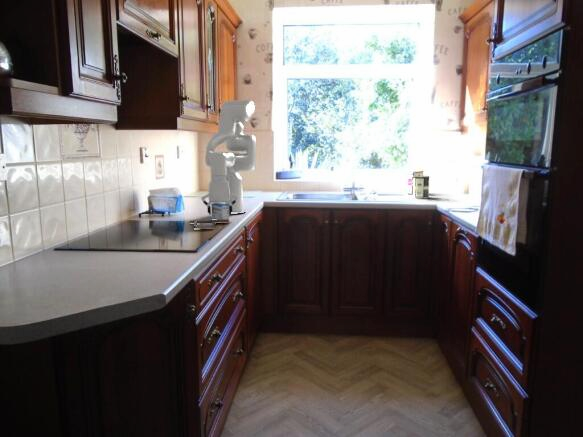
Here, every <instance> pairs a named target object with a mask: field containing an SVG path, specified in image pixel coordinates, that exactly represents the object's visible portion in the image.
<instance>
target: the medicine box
mask: <svg viewBox="0 0 583 437" xmlns="http://www.w3.org/2000/svg"><path fill="white" fill-rule="evenodd" d="M210 206H211V220H212V219H217V220H220V219H229V220H230V214H229V204H225V203H224V202H222V203H211V204H210Z"/></svg>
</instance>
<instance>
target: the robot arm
mask: <svg viewBox="0 0 583 437" xmlns="http://www.w3.org/2000/svg"><path fill="white" fill-rule="evenodd" d="M254 104H255V103H254V102H253V101H252V100H250V99H242V100H241V99H240V100H237V99H235V100H226V101H224V102H223V103H222V104H221V109H220V111H219V113H220V114H219V119H218V120H219V121H218V128H217V133H216V134H215V135H213V137H211V139H210V140H209V142H207V146H206V149H205V150H206V151H205V160H204V161H205V164H206V166H207V167H208V168H210V181H209V183H208V193H207V194H205V195H203V196H201V198H200V199H201V201H202V202H203V204H204V205H205V206H206V208H207V214H208V215H209V216H212V208H211V204H212V203H224V204H229V215H230V214H231V212H241V211H243V210H244V196H243V195H244V194H243V192H244V190H243V179H242V176H241V175H240V174H239V173H242V172H243V173H245V172H246V173H249V172H253V171H254V170H255V168H256V156H257V140H256V136H254V134H251V133H250V134H249V133H247V134H246V133H245V134H244V125H243V124H242V123H247V122H249V121H250V120H251V118H252V117H253V115H254V113H255V105H254ZM223 143H224V144H225V143H226V144H225V146H226V150H227V151H215V149H217V148H218V146H220V145H222V144H223ZM207 198H208V202H207V201H206V199H207Z"/></svg>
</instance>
